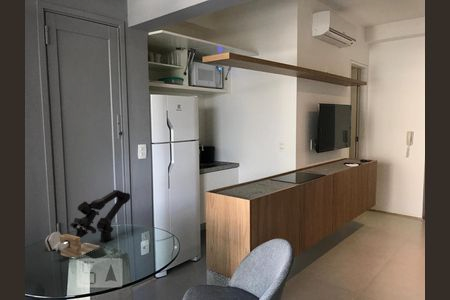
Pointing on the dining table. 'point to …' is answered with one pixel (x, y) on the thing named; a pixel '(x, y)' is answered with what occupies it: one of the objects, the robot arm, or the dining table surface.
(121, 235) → the dining table surface
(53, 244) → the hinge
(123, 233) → the dining table surface
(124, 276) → the dining table surface
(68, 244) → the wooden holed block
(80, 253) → the bearing stand
